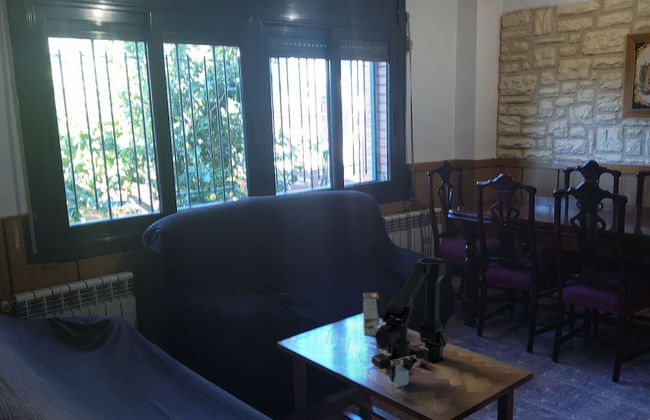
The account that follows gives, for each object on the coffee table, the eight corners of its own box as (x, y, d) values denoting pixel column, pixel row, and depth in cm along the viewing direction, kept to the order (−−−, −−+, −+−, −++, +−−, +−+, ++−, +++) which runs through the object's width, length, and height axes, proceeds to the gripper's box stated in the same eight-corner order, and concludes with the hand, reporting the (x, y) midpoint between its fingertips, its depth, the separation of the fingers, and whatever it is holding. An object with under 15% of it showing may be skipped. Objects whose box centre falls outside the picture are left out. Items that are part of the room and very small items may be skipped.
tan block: (388, 362, 205) (388, 350, 204) (400, 370, 199) (400, 357, 198) (373, 367, 201) (373, 354, 201) (385, 374, 196) (385, 361, 195)
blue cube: (399, 378, 193) (400, 364, 192) (408, 384, 188) (408, 370, 187) (388, 381, 190) (388, 367, 189) (396, 387, 186) (396, 373, 185)
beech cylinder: (415, 360, 207) (415, 347, 206) (423, 364, 203) (423, 352, 202) (405, 362, 205) (406, 350, 204) (413, 367, 201) (413, 354, 200)
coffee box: (379, 335, 230) (379, 298, 227) (364, 335, 230) (364, 298, 227) (377, 327, 239) (378, 291, 236) (363, 327, 239) (363, 291, 236)
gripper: (406, 324, 198) (405, 364, 200) (363, 334, 189) (362, 376, 192) (426, 334, 188) (425, 377, 191) (381, 346, 179) (380, 390, 182)
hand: (398, 379), depth 189 cm, fingers closed on blue cube, 5 cm apart
